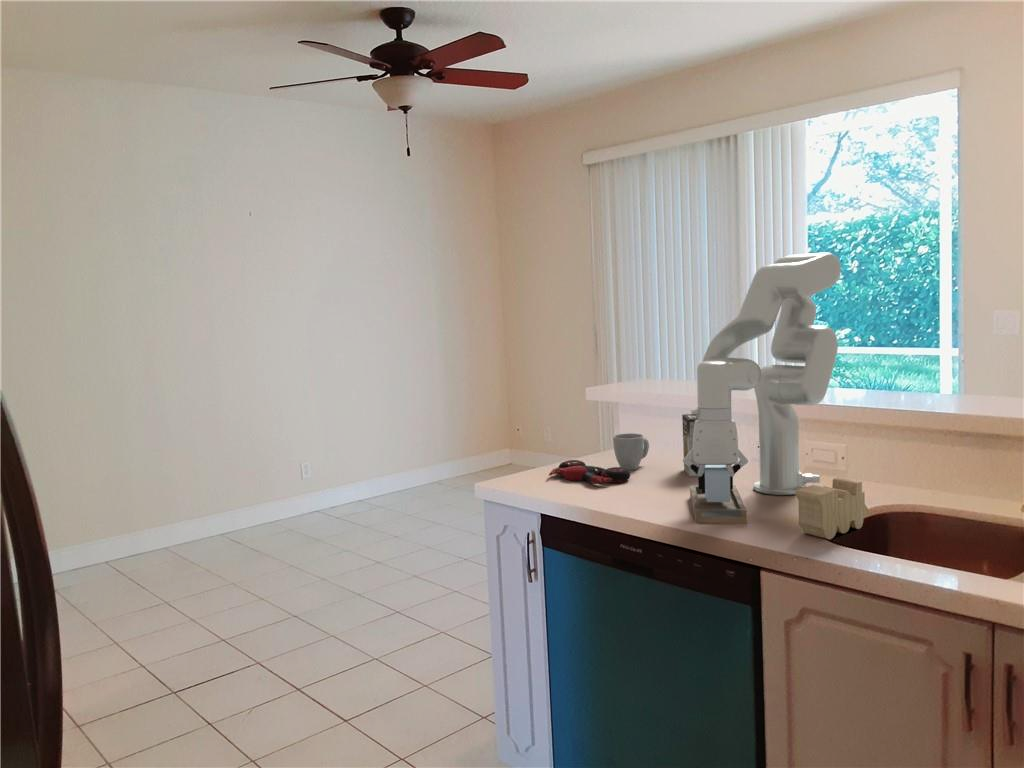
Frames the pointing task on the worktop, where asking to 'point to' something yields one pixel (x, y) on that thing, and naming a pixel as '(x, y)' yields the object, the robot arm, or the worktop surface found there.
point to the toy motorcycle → (590, 472)
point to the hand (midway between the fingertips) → (715, 491)
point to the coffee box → (688, 439)
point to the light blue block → (717, 483)
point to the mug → (630, 449)
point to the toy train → (831, 508)
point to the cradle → (718, 508)
